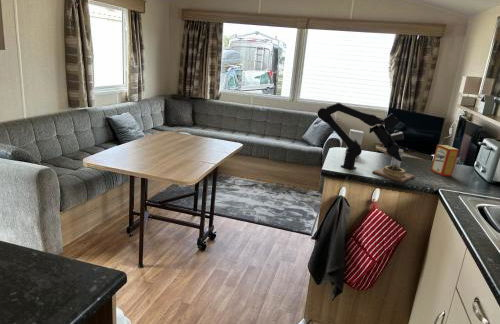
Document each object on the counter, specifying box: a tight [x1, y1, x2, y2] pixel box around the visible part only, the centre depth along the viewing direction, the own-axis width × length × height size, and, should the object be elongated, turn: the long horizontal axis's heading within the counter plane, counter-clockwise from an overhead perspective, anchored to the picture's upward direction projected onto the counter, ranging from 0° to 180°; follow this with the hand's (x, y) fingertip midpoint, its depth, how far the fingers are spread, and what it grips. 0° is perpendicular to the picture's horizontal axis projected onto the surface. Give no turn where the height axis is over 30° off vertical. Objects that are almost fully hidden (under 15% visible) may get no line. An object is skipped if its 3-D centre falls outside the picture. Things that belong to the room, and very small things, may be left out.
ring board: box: [371, 165, 415, 183], centre depth 194 cm, size 16×16×4 cm
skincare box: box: [344, 128, 365, 158], centre depth 225 cm, size 8×7×16 cm
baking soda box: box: [430, 144, 460, 177], centre depth 208 cm, size 10×6×16 cm
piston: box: [389, 148, 404, 171], centre depth 192 cm, size 5×5×13 cm
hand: (399, 158), depth 191 cm, fingers open, 9 cm apart
